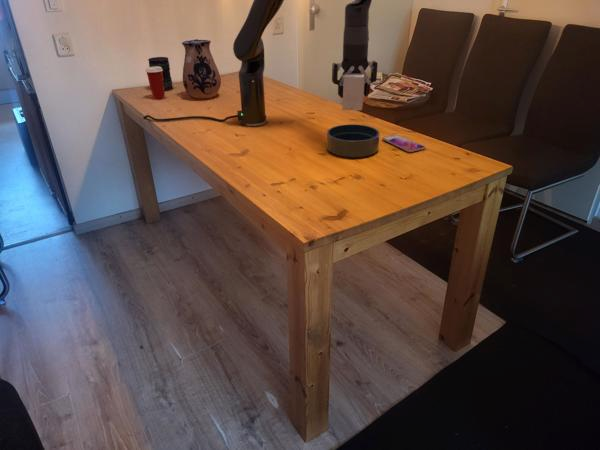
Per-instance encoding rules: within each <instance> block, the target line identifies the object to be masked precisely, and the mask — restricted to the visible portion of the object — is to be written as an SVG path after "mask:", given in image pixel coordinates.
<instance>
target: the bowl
mask: <svg viewBox="0 0 600 450" xmlns="http://www.w3.org/2000/svg"><path fill="white" fill-rule="evenodd" d="M380 133H381V132H380V131H379V130H378V129H377V128H375V127H373V126H369V125H365V124H353V123H352V124H351V123H350V124H340V125H335V126H332V127H331V128H329V129H328V130H327V131H326V149H327V150H328V151H329V152H330V154H331V153H332V154H333V155H334V156H338V157H340V158H347V159H358V158H359V159H360V158H367V157H370V156H372V155H373V154H375V153H377V152H378V151H379V149H380V148H379V147H380V135H381V134H380Z"/></svg>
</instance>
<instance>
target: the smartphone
mask: <svg viewBox="0 0 600 450" xmlns="http://www.w3.org/2000/svg"><path fill="white" fill-rule="evenodd" d="M381 140H382V141H384V142H386V143H389V144H390V145H393V146H395V147H397V148H399V149H400V150H403V151H405V152H407V153H413V152H417V151H422V150H425V149H426V146H424V145H422V144H420V143H417V142H415V141H413V140H412V139H411V140H410V139H408V138H406V137H404V136H401V135H400V134H395V135H394V134H393V135H388V136H383V137H382V138H381Z"/></svg>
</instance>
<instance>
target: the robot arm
mask: <svg viewBox="0 0 600 450" xmlns="http://www.w3.org/2000/svg"><path fill="white" fill-rule="evenodd" d="M284 1H285V0H253V1H252V3H251V7H250V8H249V12H248V15H247V17H246V19H245V21H244V23H243V25H242V27H241V28H240V30H239V32H238V34H237V35H236V37H235V39H234V41H233V44H232V50H233V54H234V57H235V58H236V59H237V60H238V61H240V62H241V64H240V69H238V83H239V94H240V106H241V110H236V111H237V114H234V115H230V116H226V117H225V118H217V117H212V116H205V115H203V116H202V115H189V116H188V115H187V116H180V117H168V118H156V117H153V116H152V115H149V114H147V115H145V116H143V119H142V120H146V119H147V118H148V119H150V120H153V121H155V122H169V121H179V120H181V121H182V120H189V119H190V120H191V119H203V120H212V121H216V122H221V123H223V122H226V121H228V120H230V119H235V118H237V122H242V123H241V124H242V126H243V127H259V126H260V127H261V126H263V125H265V124H267V115H266V97H265V96H266V95H265V81H264V72H265V67H266V66H265V45H264V40H263V39H262V36H263V35H264V32H265V31H266V28H267V27H268V25H269V24H270V23H271V22H272V20H273V19H274V18H275V17H276V15H277V14H278V12H279V10H280V9H281V8H282V6H283V3H284ZM372 1H373V0H354V1H352V2H349V3H347V4H346V5H345V7H344V24H343V25H344V26H343V34H342V61H341V63H340V62H338V63H337V62H333V63H332V65H331V82H332V83H333V84H334V85H337V95H338V97H340V99H343V77H344V74H345V73H346V74H351V73H361V74H365V75H364V79H365V84H364V97H369V95H370V93H371V84H372V83H376V82H377V78H378V65H379V64H378V62H377V61H376V60H371V61H368V57H369V55H368V54H369V40H370V37H369V36H370V35H369V33H370V32H369V21H370V20H369V19H370V8H371V4H372ZM368 67H369V68H370V77H369V75H368V74H367V72H366V70H367V69H368ZM341 68H342V70H343V71H342V73H341V75H340V77H339V75H338V73H339V71H340V70H341ZM338 77H339V78H338Z"/></svg>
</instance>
